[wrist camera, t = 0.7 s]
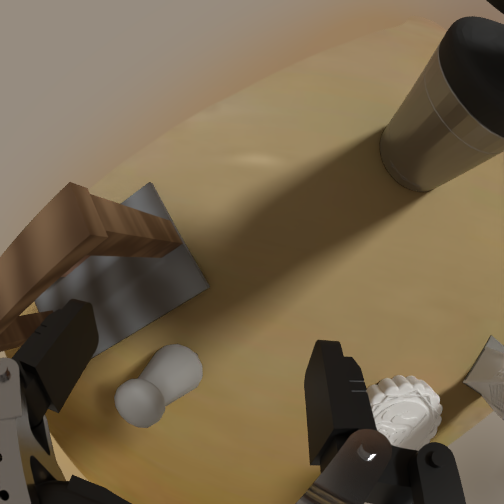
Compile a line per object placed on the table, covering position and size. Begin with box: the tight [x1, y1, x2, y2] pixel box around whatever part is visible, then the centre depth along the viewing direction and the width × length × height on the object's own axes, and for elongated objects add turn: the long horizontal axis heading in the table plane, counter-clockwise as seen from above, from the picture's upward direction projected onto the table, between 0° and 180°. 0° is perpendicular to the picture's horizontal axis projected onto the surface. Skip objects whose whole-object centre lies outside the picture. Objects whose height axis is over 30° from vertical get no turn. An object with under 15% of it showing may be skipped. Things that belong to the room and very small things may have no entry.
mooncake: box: [366, 375, 443, 451], centre depth 29 cm, size 12×12×4 cm
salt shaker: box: [114, 344, 203, 428], centre depth 27 cm, size 6×6×13 cm
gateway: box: [0, 182, 210, 359], centre depth 26 cm, size 25×14×18 cm, turn 121°
